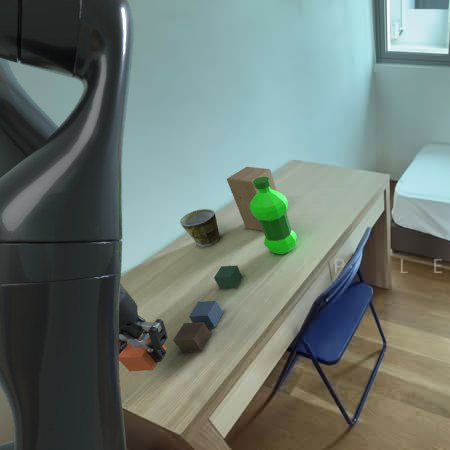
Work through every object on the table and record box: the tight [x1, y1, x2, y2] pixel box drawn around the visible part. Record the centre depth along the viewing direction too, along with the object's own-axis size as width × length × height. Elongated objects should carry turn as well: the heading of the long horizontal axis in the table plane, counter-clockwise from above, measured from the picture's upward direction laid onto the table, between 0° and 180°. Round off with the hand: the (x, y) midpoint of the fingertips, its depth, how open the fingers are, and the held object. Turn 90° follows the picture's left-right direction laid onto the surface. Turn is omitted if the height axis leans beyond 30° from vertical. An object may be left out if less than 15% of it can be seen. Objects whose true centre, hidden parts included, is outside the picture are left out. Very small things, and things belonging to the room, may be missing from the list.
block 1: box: [119, 335, 168, 372], centre depth 60 cm, size 5×5×5 cm
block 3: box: [172, 322, 212, 353], centre depth 71 cm, size 5×5×5 cm
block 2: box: [188, 300, 224, 329], centre depth 77 cm, size 5×5×5 cm
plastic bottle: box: [250, 177, 298, 255], centre depth 93 cm, size 10×10×25 cm
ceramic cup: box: [179, 208, 221, 248], centre depth 102 cm, size 13×10×10 cm
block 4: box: [213, 265, 243, 290], centre depth 87 cm, size 5×5×5 cm
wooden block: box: [226, 166, 278, 232], centre depth 108 cm, size 10×10×20 cm
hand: (147, 358), depth 61 cm, fingers closed on block 1, 4 cm apart
